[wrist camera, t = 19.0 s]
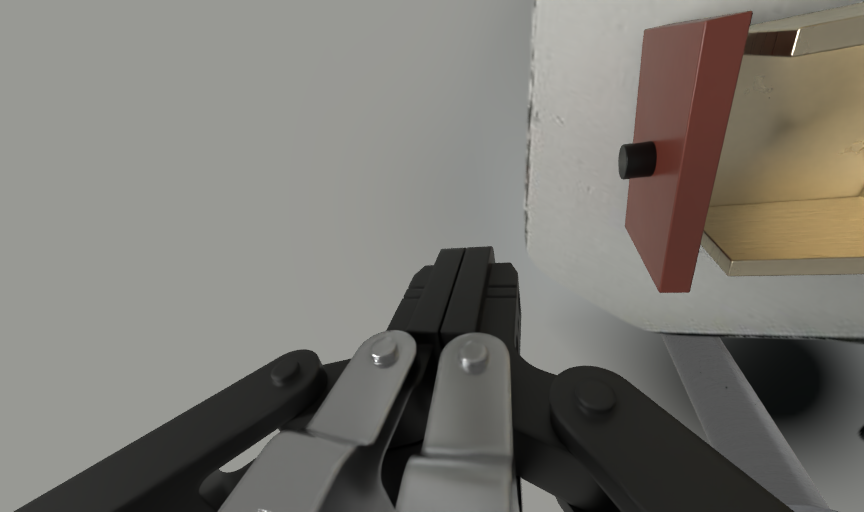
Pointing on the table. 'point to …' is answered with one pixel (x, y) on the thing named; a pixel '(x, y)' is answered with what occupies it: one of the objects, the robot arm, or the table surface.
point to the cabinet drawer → (749, 147)
